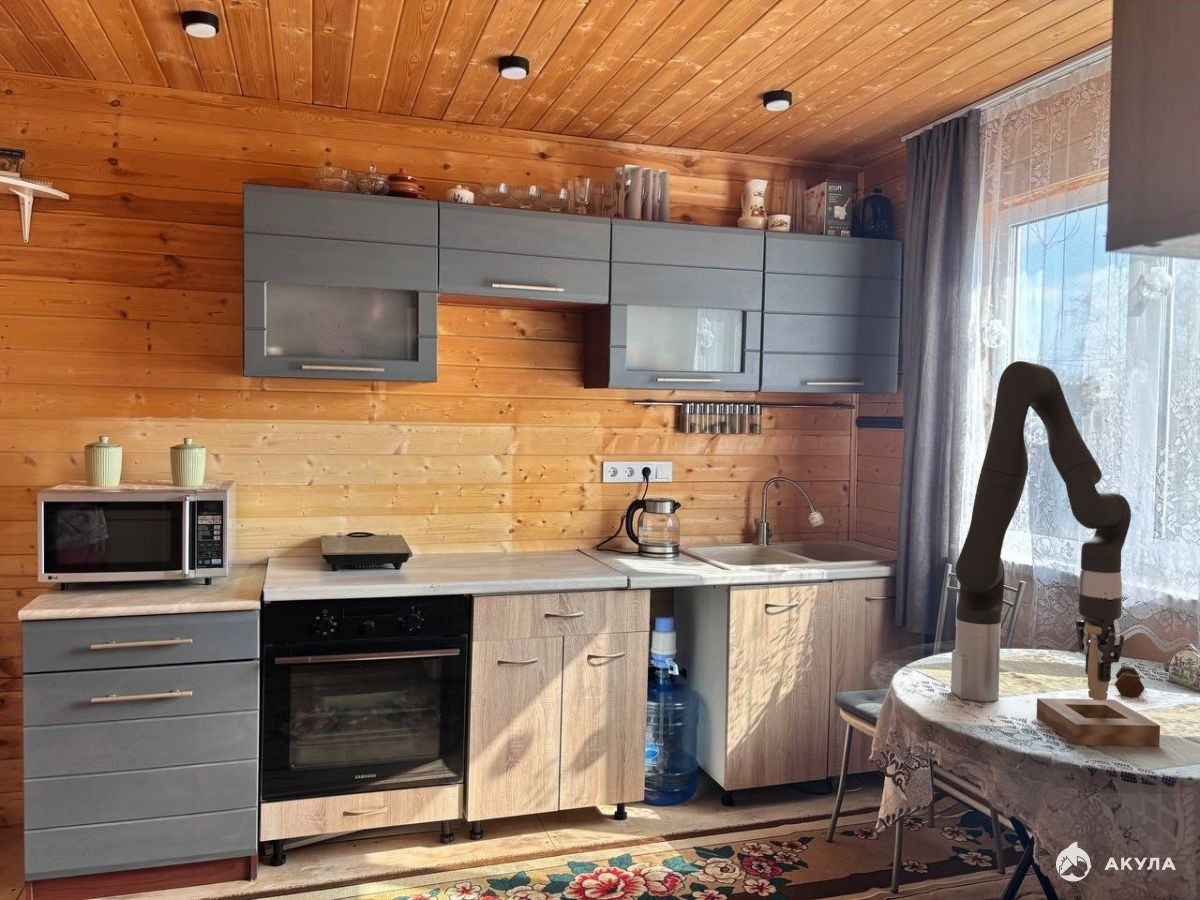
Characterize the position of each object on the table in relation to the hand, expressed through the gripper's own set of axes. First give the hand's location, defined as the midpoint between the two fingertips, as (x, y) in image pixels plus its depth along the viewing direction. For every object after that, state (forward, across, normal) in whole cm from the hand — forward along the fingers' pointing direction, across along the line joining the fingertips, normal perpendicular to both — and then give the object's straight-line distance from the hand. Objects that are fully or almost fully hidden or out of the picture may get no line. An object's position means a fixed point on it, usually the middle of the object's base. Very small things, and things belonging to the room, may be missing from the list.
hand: (1097, 677), depth 182 cm
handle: (+4, 0, 0) cm, 4 cm away
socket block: (+11, 0, 0) cm, 11 cm away
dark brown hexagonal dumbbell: (+11, -29, +23) cm, 39 cm away
